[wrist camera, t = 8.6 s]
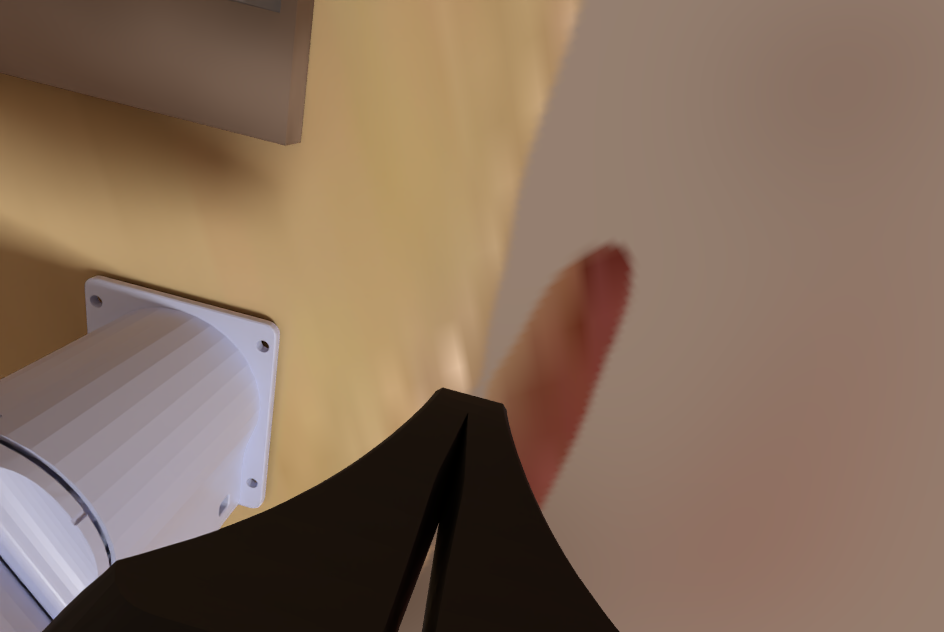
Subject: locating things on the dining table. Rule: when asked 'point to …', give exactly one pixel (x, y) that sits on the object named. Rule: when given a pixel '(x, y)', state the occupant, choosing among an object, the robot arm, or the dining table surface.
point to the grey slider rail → (171, 57)
